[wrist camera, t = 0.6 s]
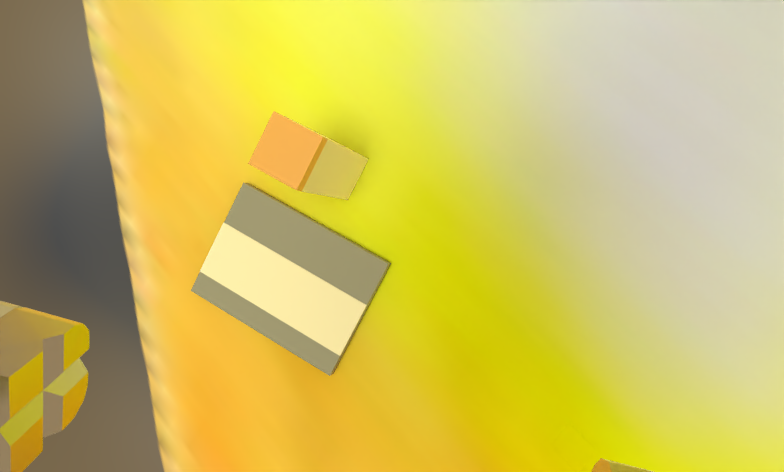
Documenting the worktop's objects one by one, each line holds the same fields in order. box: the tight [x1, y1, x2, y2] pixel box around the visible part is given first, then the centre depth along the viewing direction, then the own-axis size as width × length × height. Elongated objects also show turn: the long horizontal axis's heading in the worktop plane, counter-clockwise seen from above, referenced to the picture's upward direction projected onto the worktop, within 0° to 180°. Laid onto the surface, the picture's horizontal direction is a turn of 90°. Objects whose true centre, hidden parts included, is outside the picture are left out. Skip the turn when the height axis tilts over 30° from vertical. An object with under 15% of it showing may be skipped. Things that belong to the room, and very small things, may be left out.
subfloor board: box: [191, 183, 391, 376], centre depth 53 cm, size 11×15×1 cm
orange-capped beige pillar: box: [248, 112, 368, 200], centre depth 46 cm, size 4×4×12 cm
